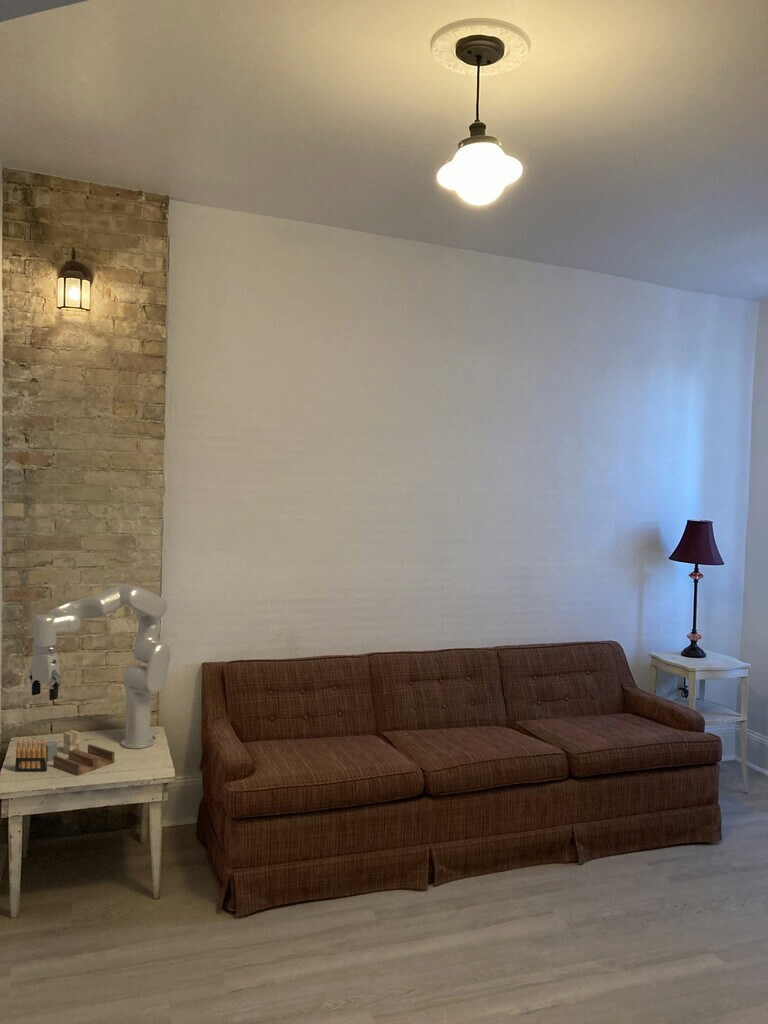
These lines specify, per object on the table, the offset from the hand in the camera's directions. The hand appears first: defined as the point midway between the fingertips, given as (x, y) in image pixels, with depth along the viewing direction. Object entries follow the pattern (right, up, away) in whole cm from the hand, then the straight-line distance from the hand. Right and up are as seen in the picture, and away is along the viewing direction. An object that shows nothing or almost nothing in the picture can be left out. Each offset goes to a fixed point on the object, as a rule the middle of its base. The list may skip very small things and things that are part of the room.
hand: (44, 696), depth 292 cm
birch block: (+1, -27, +23) cm, 35 cm away
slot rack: (+10, -28, +11) cm, 31 cm away
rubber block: (-5, -27, +16) cm, 31 cm away
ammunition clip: (-6, -28, +4) cm, 29 cm away
